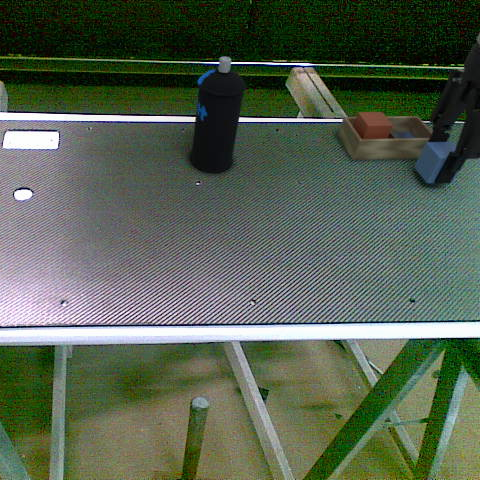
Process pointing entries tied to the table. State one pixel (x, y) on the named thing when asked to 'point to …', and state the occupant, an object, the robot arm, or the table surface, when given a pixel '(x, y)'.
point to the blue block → (433, 159)
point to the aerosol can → (217, 118)
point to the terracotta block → (372, 125)
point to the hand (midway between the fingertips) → (434, 172)
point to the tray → (395, 146)
